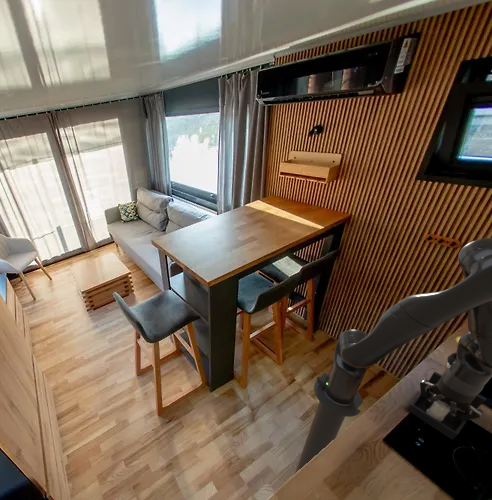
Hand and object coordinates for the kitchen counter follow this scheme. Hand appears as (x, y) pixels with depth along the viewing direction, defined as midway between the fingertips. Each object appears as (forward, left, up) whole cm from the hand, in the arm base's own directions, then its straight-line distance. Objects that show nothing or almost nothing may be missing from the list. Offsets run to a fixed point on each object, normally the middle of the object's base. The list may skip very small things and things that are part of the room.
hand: (437, 412), depth 87 cm
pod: (0, 0, -2) cm, 2 cm away
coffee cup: (-1, +18, -3) cm, 18 cm away
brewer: (0, +1, -3) cm, 3 cm away
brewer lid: (0, +5, +7) cm, 8 cm away
